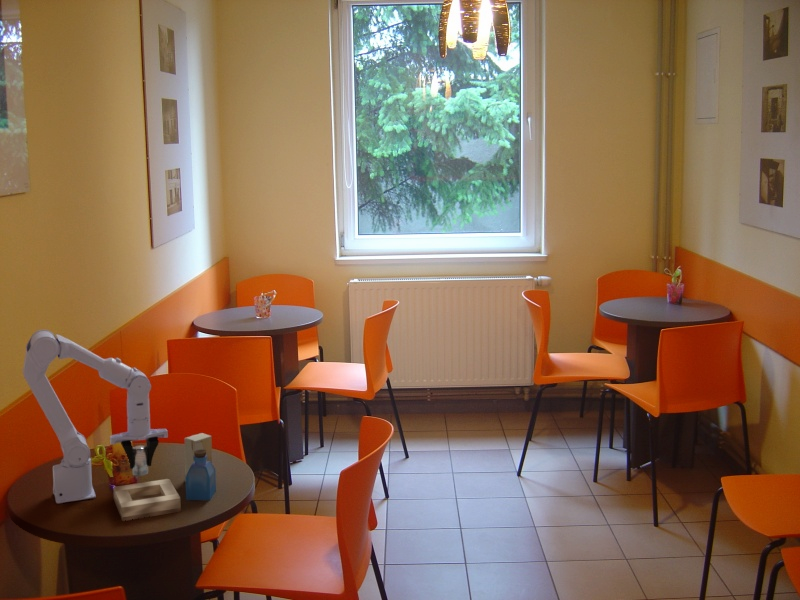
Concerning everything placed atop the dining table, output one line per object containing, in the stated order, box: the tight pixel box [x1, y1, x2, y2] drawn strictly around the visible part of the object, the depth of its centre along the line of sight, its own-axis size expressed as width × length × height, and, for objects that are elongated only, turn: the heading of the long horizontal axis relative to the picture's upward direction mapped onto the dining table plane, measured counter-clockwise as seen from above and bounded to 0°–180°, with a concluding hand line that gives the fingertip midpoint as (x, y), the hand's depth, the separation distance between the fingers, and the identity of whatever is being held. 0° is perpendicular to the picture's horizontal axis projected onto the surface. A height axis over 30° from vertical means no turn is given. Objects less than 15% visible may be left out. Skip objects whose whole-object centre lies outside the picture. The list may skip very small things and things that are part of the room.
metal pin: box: [132, 445, 149, 477], centre depth 227 cm, size 4×4×7 cm
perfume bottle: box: [185, 449, 217, 501], centre depth 222 cm, size 6×6×12 cm
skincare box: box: [184, 432, 213, 481], centre depth 232 cm, size 6×4×12 cm
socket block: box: [112, 478, 182, 522], centre depth 215 cm, size 14×14×4 cm
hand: (140, 466), depth 227 cm, fingers closed on metal pin, 4 cm apart
